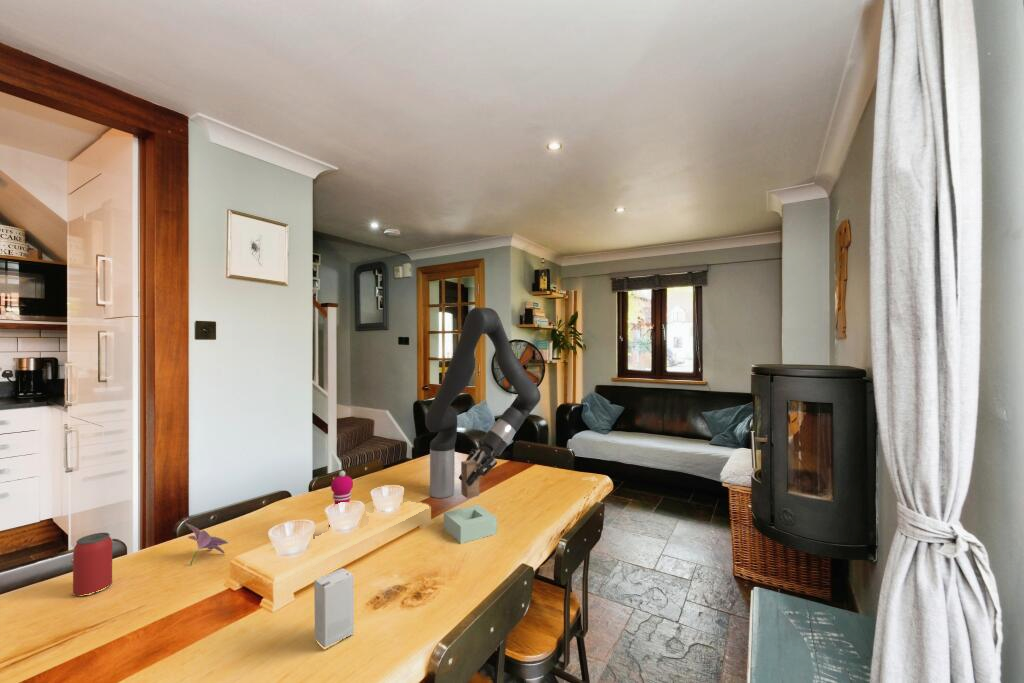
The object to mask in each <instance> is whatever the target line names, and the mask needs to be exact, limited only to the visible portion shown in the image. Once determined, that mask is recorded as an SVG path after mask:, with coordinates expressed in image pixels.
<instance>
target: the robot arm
mask: <svg viewBox="0 0 1024 683" xmlns="http://www.w3.org/2000/svg"><path fill="white" fill-rule="evenodd" d="M482 335H487V337H488V338H489V339H490V341H491V342H492V345H493V347H494V350H495V357H496V363H497V365H498V367H499V370H500V372H501V373H502V375H503V377H504V379H505V380H506V382H507V383H508V385H509V386H512V387H513V390H515V392H516V394H517V396H516V397H515V399H514V400H513V402H512V403H511V404H510V405H509V407H508V408H506V409H505V411H504V412H503V413H502V414H501V415H500V417H499V418H498V419H497V421H495V422H494V423H493V424H492V426H491V427H490V428H489V429H488V431H487V432H486V433H485V435H484V436H483V437H482V439H481V440H480V443H481V446H480V447H479V448H478V449H477V450H476V449H474V448H472V449H471V450H470V452H469V454H468V456H467V457H466V459H465V461H467V460H475V461H477V462H476V463H477V466H476V467H475V469H474V472H472V473H471V474H470V476H469V477H468V478H467V479H466V481H465V483H467V484H468V485H469V486H471V485H472V484H473V483H474V481H475V480H476V479H477V477H478V476H479V477H481V476H482V477H485V476H486V475H487V474H489V472H490V471H491V470H493V468H494V467H495V466H496V465H497V464H498V461H497V460H496V459H495V458H496V456H497V457H500V456H501V455H502V453H503V451H505V449H506V448H507V447H508V446H509V444H510V442H511V441H512V440H513V438H514V436H515V434H516V433H517V432H518V431H519V429H520V427H521V426H522V425H523V424H524V422H525V419H527V418H528V417H529V415H530V413H531V412H532V411H533V410H534V409H535V408H536V406H537V405H538V404H539V402H540V400H541V396H542V395H541V391H540V389H539V388H538V385H537V384H536V383H535V382H534V380H532V378H531V377H530V376H529V375H528V374H527V373H526V371H525V369H524V367H523V365H522V364H521V362H520V360H519V358H518V357H517V355H516V353H515V351H514V349H513V347H512V345H511V343H510V340H509V338H508V336H507V333H506V331H505V328H504V325H503V323H502V320H501V319H500V316H499V314H498V313H497V311H496V310H495V309H493V308H490V307H474V308H472V309H470V310H469V311H468V313H467V315H466V317H465V320H464V323H463V326H462V330H461V333H460V336H459V339H458V342H457V345H456V347H455V350H454V353H453V355H452V358H451V360H450V361H449V364H448V366H447V370H446V371H445V373H444V377H443V380H442V382H441V383H440V386H439V389H438V390H437V393H436V395H435V396H434V399H433V401H432V402H431V404H430V406H429V408H428V409H427V411H426V414H425V420H424V421H425V422H424V423H425V427H426V429H427V430H428V431H429V432H432V433H438V434H437V435H436V436H435V437H434V438H433V439H432V440H430V443H429V495H430V496H431V497H432V498H438V499H439V498H440V499H441V498H442V499H444V498H448V497H452V496H454V494H455V468H456V467H455V463H456V462H455V458H456V457H455V444H456V443H457V435H458V434H457V433H458V413H457V411H456V409H455V408H454V407H453V406H452V405H451V404H452V403H453V402H454V401H455V399H457V397H458V396H459V395H460V394H461V393H463V391H464V390H465V389H466V388H467V387H468V385H469V383H470V381H471V380H472V377H473V375H474V372H475V370H476V354H475V352H476V348H477V346H478V343H479V340H480V339H481V337H482ZM458 479H459V480H460V481H461V474H459V476H458Z"/></svg>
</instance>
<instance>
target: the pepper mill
mask: <svg viewBox="0 0 1024 683" xmlns="http://www.w3.org/2000/svg"><path fill="white" fill-rule="evenodd" d="M353 488H354V481H353V478H352V477H350V476H349V475H346V471H344V470H341V471H339V473H338V476H336V477H334V479H333V480H332V481H331V484H330V490H331V491H332V499H333V501H334V505H335V504H338V503H340V502H351V501H350V500H351V498H352V489H353ZM329 527H330V525H329V524H328V528H329Z"/></svg>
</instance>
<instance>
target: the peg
mask: <svg viewBox="0 0 1024 683" xmlns="http://www.w3.org/2000/svg"><path fill="white" fill-rule="evenodd" d="M476 462H477V461H475V460H467V461H466V460H461V461H460V466H461V468H460V475H461V480H460V481H461V482H460V484H461V487H460V489H461V490H460V491H461V492H460V493H461V496H464V497H465V498H466V499H470V498H474V497H479V496H480V476H478V477H477V479H476V480H475V481H474V483H473V484H472V485H471V486H469V485H468V484H467V483H465V481H466V479H467V478H468V477H469V476H470V474H471V473H472V472H474V469H475V467H476V466H477V463H476Z"/></svg>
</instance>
